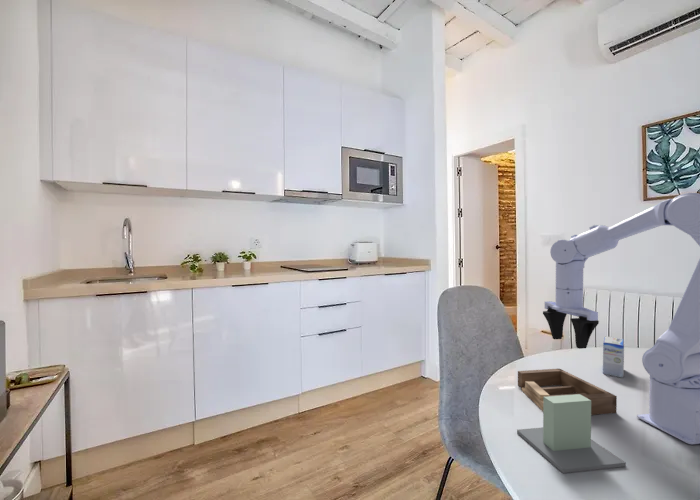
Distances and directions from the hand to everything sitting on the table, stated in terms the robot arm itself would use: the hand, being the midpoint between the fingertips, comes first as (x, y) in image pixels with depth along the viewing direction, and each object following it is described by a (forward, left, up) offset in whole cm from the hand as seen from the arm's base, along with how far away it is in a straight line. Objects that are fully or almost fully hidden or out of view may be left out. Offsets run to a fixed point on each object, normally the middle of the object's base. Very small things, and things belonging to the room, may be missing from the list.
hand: (568, 343), depth 82 cm
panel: (-23, +21, -10) cm, 32 cm away
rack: (-6, +7, -10) cm, 14 cm away
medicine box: (+6, -19, -11) cm, 23 cm away
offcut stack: (-7, +13, -11) cm, 18 cm away
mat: (-23, +20, -10) cm, 33 cm away
